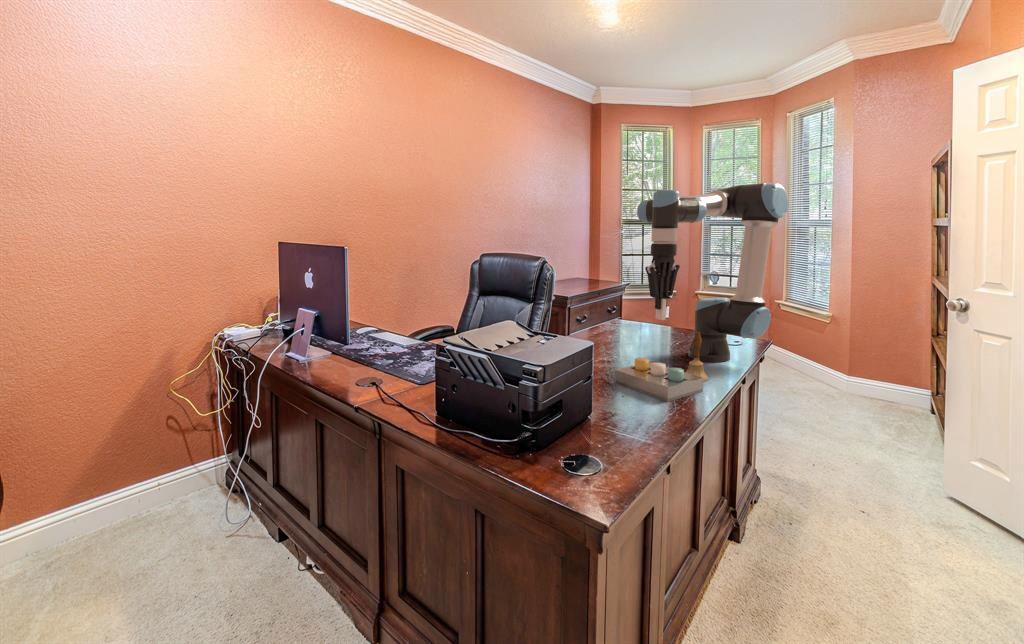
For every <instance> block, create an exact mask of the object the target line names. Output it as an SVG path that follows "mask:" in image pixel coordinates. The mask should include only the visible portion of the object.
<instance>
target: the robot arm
mask: <svg viewBox="0 0 1024 644" xmlns="http://www.w3.org/2000/svg"><path fill="white" fill-rule="evenodd" d="M788 208H789V196H788V193H787V191H786V189H785V187H784V186H783V185H782V184H780V183H775V182H763V183H755V184H753V183H752V184H739V185H734V186H729V187H725V188H721V189H720V188H719V189H716V190H715V189H714V190H712V191H710V192H708V193H705V194H704V193H702V194H695V195H694V194H693V195H687V196H681V195H680V191H679V190H677V189H664V190H656V191H655V192H653V197H652V199H651V198H650V199H645V200H642V201H641V202H640V203H639V204H638V206H637V208H636V209H637V210H636V212H637V218H638V220H639V221H640V222H642V223H647V224H652V225H651V237H650V238H651V240H650V241H651V242H652V243H651V244H650V256H652V259H651V263H650V265H649V266H645V268H644V270H645V272H646V275H647V282H648V289H649V296H650V297H651V298H652V299H654V309H655V318H654V319H656V320H659V321H665V320H666V318H667V308H668V299H669V300H671V296H673V295H674V290H675V285H676V281H677V275H678V272H679V270H680V267H681V266H680V264H676V263H675V256H677V250H678V249H677V248H678V247H677V246H678V245H677V244H676V243H677V242H678V230H679V228H678V225H679V223H681V224H682V223H683V224H684V223H686V224H687V223H690V224H693V223H699V222H700V221H702V220H703V219H705V217H707V216H709V217H712V218H719V217H720V218H732V219H733V218H736V219H741V224H742V225H743V226H744V231H743V232H744V233H743V240H742V247H741V254H740V262H739V269H738V274H737V282H736V288H735V289H736V290H735V294H734V295H732V296H731V297H730V298H728V297H710V298H709V297H708V298H701V299H698V300H697V301H696V303H695V310H694V314H695V316H694V333H693V334H694V335H693V336H695V333H696V332H700V336H701V347H700V350H699V361H701V362H708V363H722V362H727V361H730V360H731V351H730V347H729V343H728V340H727V335H730V336H734V337H740V338H742V339H749V340H750V339H751V340H755V339H759V338H761V337H762V336H764V334H765V333H766V332H767V331H768V328H769V327H770V325H771V324H770V323H771V320H772V319H771V318H772V315H771V310H769V308H767V306H766V305H767V303H766V301H765V299H764V298H763V293H764V284H765V278H766V272H767V271H766V270H767V264H768V258H769V250H770V244H771V238H772V232H773V231H772V230H773V228H774V227H776V226H777V225H778V222H779V219H781V218H783V217H785V215H786V214H787V212H788ZM693 339H694V337H692V341H691V344H690V347H689V348H688V357H689V358H691V359H693V360H694V346H693Z"/></svg>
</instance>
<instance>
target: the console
mask: <svg viewBox="0 0 1024 644" xmlns="http://www.w3.org/2000/svg"><path fill="white" fill-rule="evenodd" d="M651 363H652V362H651V361H649V370H648V371H644V372H641V371H637V370H634V365H630V366H626V367H621V368H615V369H614V384H617V385H620V386H622V387H625V388H628V389H630V390H633V391H636V392H639V393H642V394H644V395H647V396H650V397H653V398H656V399H658V400H661V401H663V402H665V403H666V402H667V403H669V402H673V401H676V400H679V399H682V397H683V398H686V397H689V395H690V396H693V395H696V393H697V394H700V393H703V391H704V390H703V389H704V381H703V378H702V377H699V376H695V375H692V374H688V373H686V371H684V379H683V381H682V382H679V383H675V382H672V381H669V380H668V369H669V368H670V367H667V366H666V373H665V376H662V377H656V376H653V375H650V373H651Z"/></svg>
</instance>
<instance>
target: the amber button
mask: <svg viewBox="0 0 1024 644" xmlns="http://www.w3.org/2000/svg"><path fill="white" fill-rule="evenodd" d="M649 362H650V359H648V358H645V357H638V358H637V357H636V358H634V365H633V366H634V370H637V371H641V372H644V371H648V370H649Z"/></svg>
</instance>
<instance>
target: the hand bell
mask: <svg viewBox="0 0 1024 644" xmlns="http://www.w3.org/2000/svg"><path fill="white" fill-rule="evenodd" d="M693 336H694V335H693ZM693 338H694V339H693ZM693 338H692V341H693V346H694V359H693V360H690V361H689V363H688V367H687V370H686V371H685V373H688V374H692V375H695V376H699V377H702V378H703V382H706V380H707V381H708V380H709V377H708V375H707V374H706V372H705V369H704V363H703V361H700V360H699V350H700V347H701V336H700V332H696V333H695V336H694V337H693Z"/></svg>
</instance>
